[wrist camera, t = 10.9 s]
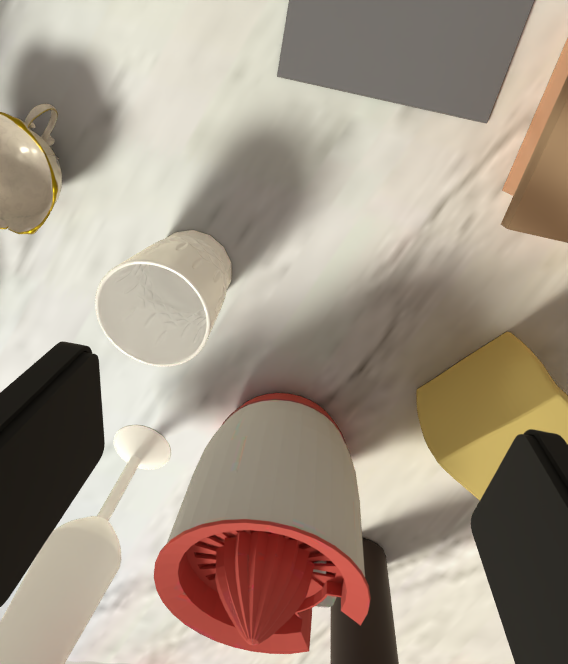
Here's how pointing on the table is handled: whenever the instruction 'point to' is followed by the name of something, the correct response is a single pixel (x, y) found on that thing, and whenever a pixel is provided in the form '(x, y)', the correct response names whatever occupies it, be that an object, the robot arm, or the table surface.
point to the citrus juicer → (267, 530)
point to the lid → (545, 181)
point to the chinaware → (27, 172)
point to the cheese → (488, 409)
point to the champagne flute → (74, 568)
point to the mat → (406, 50)
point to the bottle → (367, 619)
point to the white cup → (165, 298)
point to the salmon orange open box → (538, 122)
